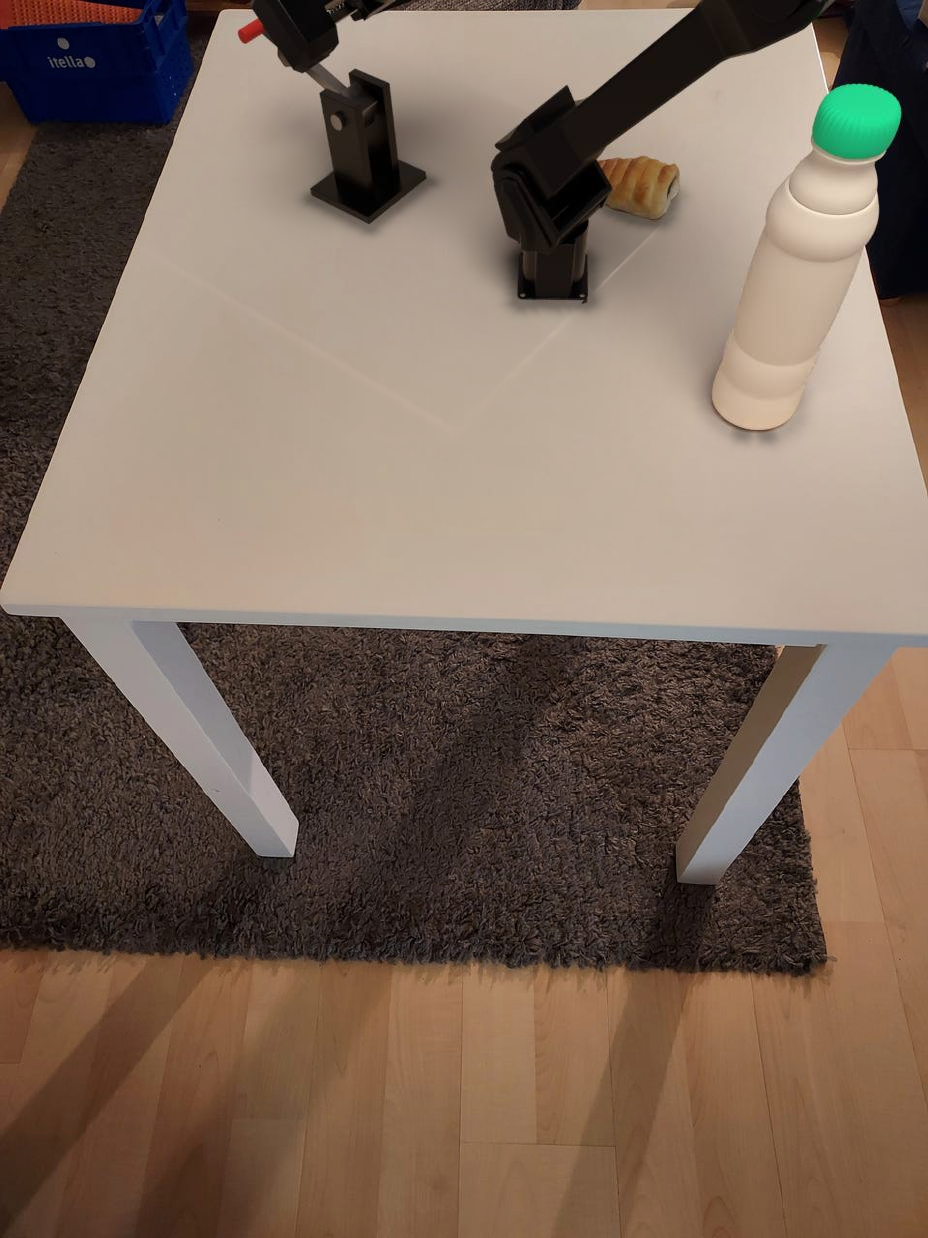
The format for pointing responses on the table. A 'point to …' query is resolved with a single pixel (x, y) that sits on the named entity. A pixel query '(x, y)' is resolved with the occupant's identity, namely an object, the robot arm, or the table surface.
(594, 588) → the table surface
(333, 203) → the switch bracket
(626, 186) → the pastry
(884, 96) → the water bottle
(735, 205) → the table surface
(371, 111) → the lever
